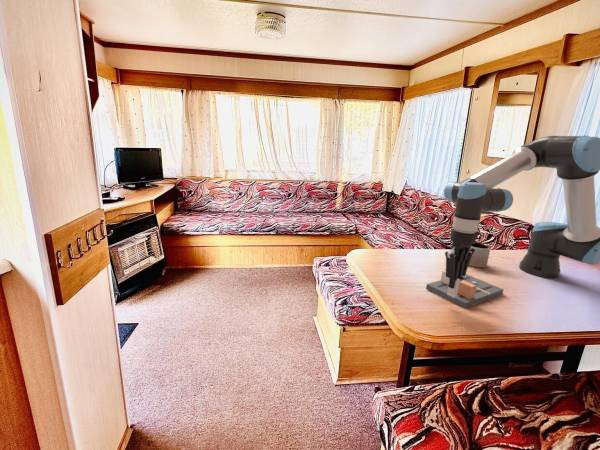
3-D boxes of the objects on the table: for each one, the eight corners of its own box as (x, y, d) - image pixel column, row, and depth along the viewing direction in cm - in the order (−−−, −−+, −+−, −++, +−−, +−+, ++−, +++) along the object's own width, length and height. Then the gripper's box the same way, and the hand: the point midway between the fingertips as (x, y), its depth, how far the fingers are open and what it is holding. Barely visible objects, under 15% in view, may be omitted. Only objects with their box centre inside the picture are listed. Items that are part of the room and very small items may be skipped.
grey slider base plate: (463, 277, 135) (464, 272, 134) (502, 294, 122) (504, 287, 121) (426, 288, 123) (427, 282, 122) (464, 308, 110) (466, 301, 109)
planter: (490, 269, 146) (494, 249, 143) (464, 266, 148) (468, 247, 145) (482, 261, 156) (486, 242, 153) (458, 258, 158) (461, 240, 155)
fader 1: (445, 280, 126) (447, 269, 125) (456, 285, 122) (459, 274, 121) (440, 281, 125) (442, 270, 124) (452, 286, 121) (454, 275, 120)
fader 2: (461, 291, 117) (463, 279, 116) (474, 297, 113) (476, 285, 112) (456, 292, 116) (458, 281, 115) (469, 299, 112) (471, 287, 110)
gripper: (465, 225, 110) (453, 287, 116) (441, 229, 103) (430, 294, 110) (487, 231, 104) (473, 296, 110) (463, 235, 97) (449, 304, 103)
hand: (451, 295), depth 110 cm, fingers closed
